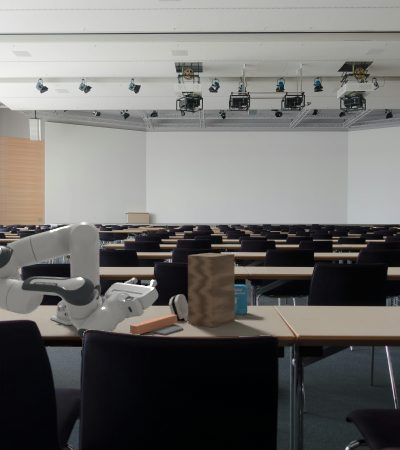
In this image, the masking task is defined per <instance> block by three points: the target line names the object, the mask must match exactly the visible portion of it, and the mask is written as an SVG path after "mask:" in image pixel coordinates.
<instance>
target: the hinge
mask: <svg viewBox="0 0 400 450" xmlns="http://www.w3.org/2000/svg"><path fill="white" fill-rule="evenodd" d="M168 306H169V309H170V312H171V313H170V314H173V315H177V321H178V320H182V319H184V322H188V300H187V299H186V296H185V295H184V294H182V293H181V294H177V295H174V296H172V297H171V298H170V299H169V303H168Z"/></svg>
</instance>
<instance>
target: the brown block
mask: <svg viewBox="0 0 400 450" xmlns="http://www.w3.org/2000/svg"><path fill="white" fill-rule="evenodd" d="M234 284H235V254H234V253H233V254H232V253H218V252H217V253H216V252H215V253H214V252H208V253H207V252H206V253H198V254H189V255H187V303H188V320H187V322H188V324H192V325H197V326H202V327H208V328H216V327H219V326H222V325H225V324H226V325H227V324H228V323H231V322H235V316H236V315H235V294H234Z"/></svg>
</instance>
